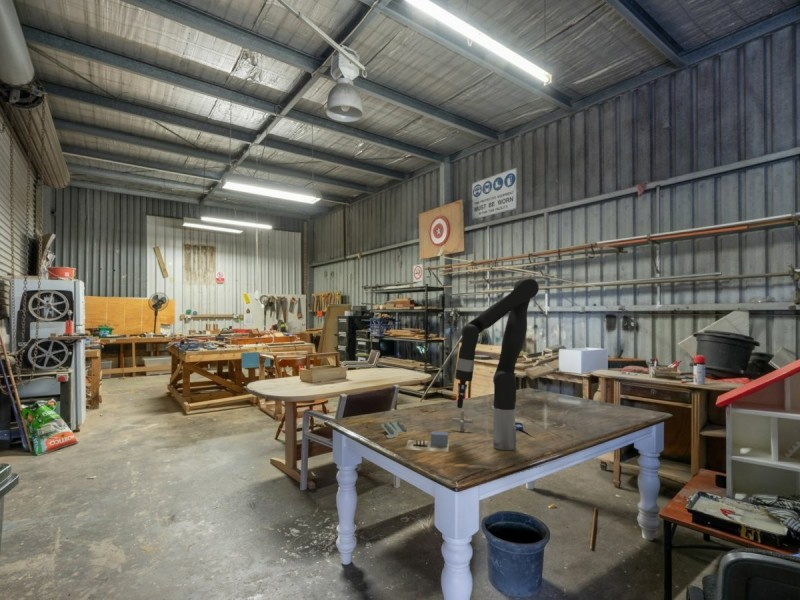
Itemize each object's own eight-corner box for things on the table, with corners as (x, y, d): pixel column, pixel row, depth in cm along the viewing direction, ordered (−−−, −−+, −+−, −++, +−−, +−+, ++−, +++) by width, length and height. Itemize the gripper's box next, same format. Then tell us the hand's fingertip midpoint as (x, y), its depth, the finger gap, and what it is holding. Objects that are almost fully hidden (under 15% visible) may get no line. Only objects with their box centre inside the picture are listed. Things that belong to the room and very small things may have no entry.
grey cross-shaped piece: (454, 427, 205) (454, 407, 205) (473, 429, 202) (473, 409, 202) (450, 432, 195) (450, 412, 196) (471, 434, 192) (471, 413, 192)
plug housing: (447, 443, 174) (447, 432, 174) (447, 447, 170) (447, 435, 170) (431, 442, 175) (431, 431, 175) (430, 446, 171) (431, 434, 171)
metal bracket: (376, 420, 194) (402, 417, 202) (374, 431, 196) (401, 427, 203) (390, 436, 182) (417, 432, 190) (388, 448, 184) (415, 443, 191)
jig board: (448, 445, 176) (449, 436, 176) (448, 455, 163) (448, 445, 163) (408, 442, 179) (408, 434, 179) (404, 452, 166) (404, 443, 166)
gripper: (473, 372, 168) (468, 411, 168) (472, 368, 182) (467, 403, 182) (456, 369, 169) (450, 407, 169) (456, 365, 183) (451, 400, 183)
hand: (459, 405), depth 175 cm, fingers open, 8 cm apart
